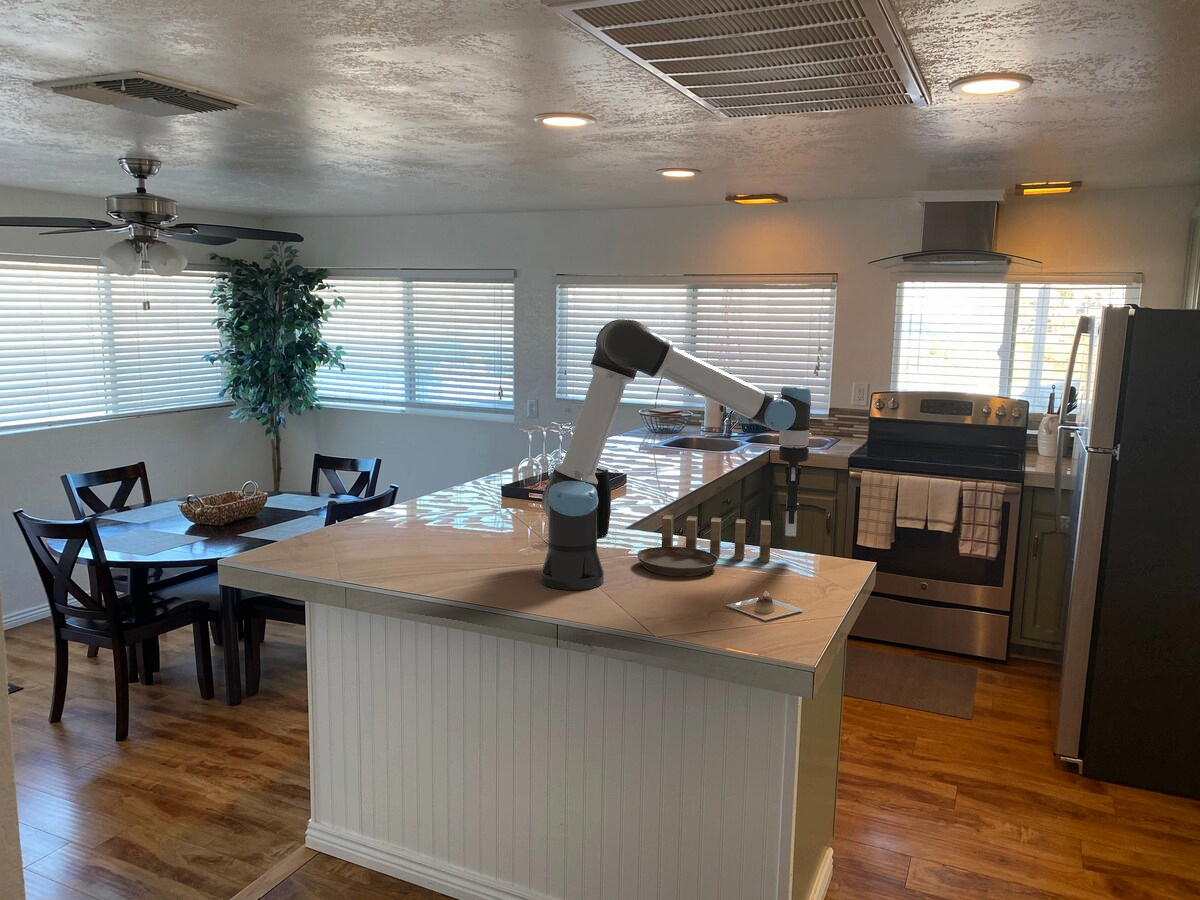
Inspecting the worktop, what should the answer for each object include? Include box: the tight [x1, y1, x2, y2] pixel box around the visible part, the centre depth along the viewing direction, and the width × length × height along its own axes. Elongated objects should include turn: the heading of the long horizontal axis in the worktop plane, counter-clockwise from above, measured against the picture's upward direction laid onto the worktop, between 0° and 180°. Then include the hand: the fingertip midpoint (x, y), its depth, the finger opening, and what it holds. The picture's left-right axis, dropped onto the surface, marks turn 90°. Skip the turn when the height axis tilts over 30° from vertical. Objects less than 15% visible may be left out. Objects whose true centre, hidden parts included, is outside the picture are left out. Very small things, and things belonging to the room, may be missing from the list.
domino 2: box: [685, 515, 698, 549], centre depth 239 cm, size 5×2×10 cm, turn 168°
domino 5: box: [759, 519, 772, 563], centre depth 235 cm, size 5×2×10 cm, turn 172°
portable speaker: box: [595, 467, 612, 538], centre depth 259 cm, size 9×9×20 cm
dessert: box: [725, 590, 804, 622], centre depth 193 cm, size 12×12×5 cm
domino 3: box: [709, 517, 722, 560], centre depth 238 cm, size 5×2×10 cm, turn 168°
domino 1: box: [661, 514, 675, 547], centre depth 240 cm, size 5×2×10 cm, turn 168°
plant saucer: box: [636, 546, 719, 577], centre depth 226 cm, size 21×21×3 cm
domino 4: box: [733, 518, 747, 561], centre depth 236 cm, size 5×2×10 cm, turn 168°
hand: (790, 532), depth 233 cm, fingers closed on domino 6, 5 cm apart
